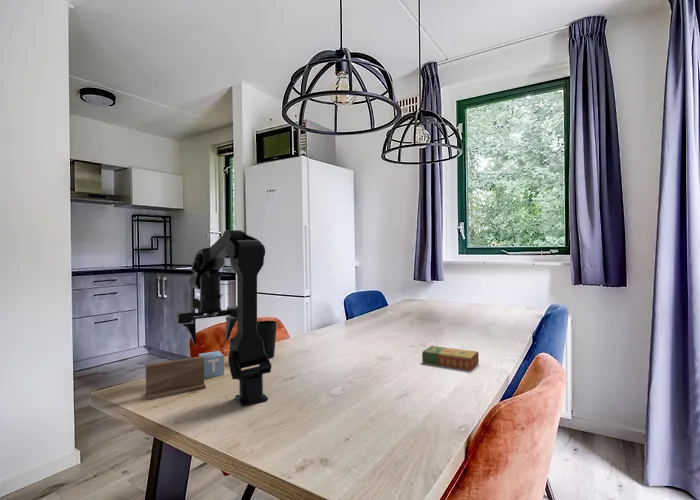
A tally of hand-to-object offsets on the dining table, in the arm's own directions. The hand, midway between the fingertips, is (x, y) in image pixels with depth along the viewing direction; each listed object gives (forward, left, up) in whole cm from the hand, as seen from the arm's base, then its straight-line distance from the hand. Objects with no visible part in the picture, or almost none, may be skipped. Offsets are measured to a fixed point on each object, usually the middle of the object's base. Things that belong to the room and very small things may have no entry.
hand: (211, 343), depth 114 cm
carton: (-33, -67, -10) cm, 75 cm away
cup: (+8, -20, -10) cm, 24 cm away
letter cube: (0, 0, -10) cm, 10 cm away
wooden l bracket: (-9, +11, -9) cm, 17 cm away
